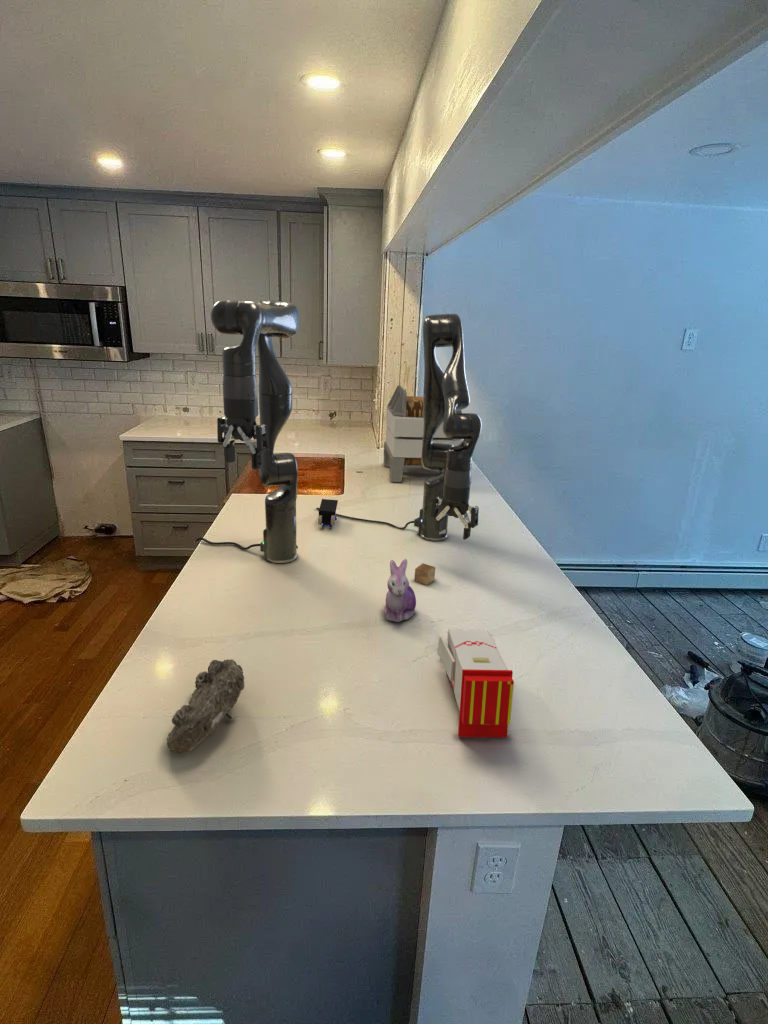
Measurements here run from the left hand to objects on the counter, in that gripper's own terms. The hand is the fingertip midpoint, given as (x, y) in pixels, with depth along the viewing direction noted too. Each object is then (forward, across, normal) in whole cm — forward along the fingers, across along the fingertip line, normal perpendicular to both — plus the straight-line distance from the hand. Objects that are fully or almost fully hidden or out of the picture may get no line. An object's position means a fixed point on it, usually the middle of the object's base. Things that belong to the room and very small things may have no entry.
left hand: (243, 465), depth 132 cm
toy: (+39, +60, +5) cm, 72 cm away
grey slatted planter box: (+39, -34, +142) cm, 151 cm away
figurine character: (+39, -24, +61) cm, 76 cm away
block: (+39, +26, +44) cm, 64 cm away
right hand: (+26, +30, +53) cm, 66 cm away
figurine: (+39, +31, +23) cm, 55 cm away
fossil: (+39, +24, -32) cm, 56 cm away
